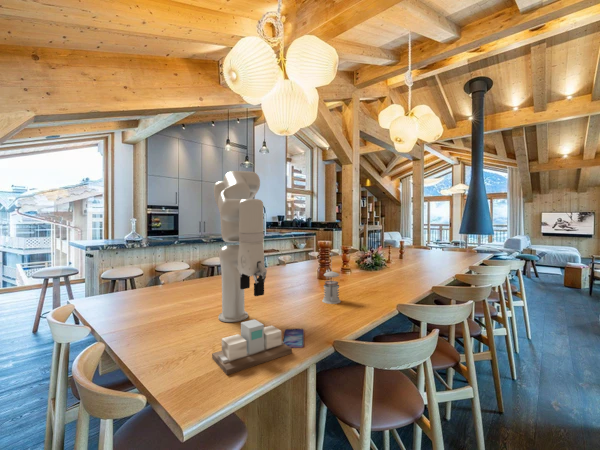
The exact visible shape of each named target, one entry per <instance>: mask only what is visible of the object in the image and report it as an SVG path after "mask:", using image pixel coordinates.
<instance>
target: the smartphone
mask: <svg viewBox="0 0 600 450" xmlns="http://www.w3.org/2000/svg"><path fill="white" fill-rule="evenodd" d="M304 331H305V330H304V328H287V329H285V328H284V333H283V338H282V339H283V340H282V341H283V342H284V344H286V345H287V346H289V347H290V348H293V349H298V348H299V349H302V348H304V346H305V344H304V343H305V342H304V341H305V340H304V337H305V336H304V335H305V333H304Z"/></svg>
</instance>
